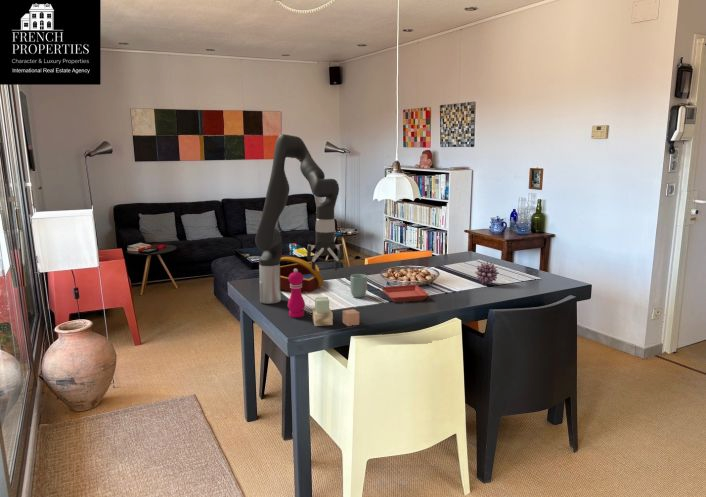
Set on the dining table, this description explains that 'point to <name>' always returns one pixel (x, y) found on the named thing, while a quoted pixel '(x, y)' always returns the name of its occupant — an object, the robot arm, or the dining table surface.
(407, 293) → the plant saucer
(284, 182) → the robot arm
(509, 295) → the dining table surface
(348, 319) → the terracotta cube
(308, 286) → the decorative basket
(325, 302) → the sage cube
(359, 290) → the cup
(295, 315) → the pepper mill
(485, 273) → the purple spiky ball
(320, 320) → the birch block
